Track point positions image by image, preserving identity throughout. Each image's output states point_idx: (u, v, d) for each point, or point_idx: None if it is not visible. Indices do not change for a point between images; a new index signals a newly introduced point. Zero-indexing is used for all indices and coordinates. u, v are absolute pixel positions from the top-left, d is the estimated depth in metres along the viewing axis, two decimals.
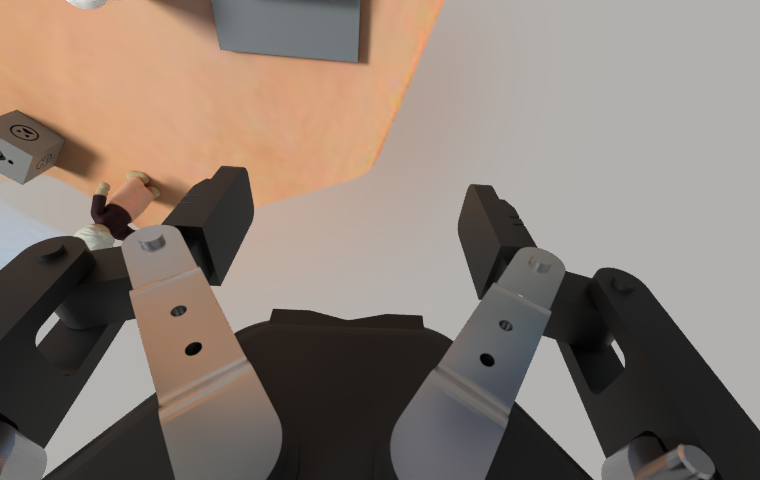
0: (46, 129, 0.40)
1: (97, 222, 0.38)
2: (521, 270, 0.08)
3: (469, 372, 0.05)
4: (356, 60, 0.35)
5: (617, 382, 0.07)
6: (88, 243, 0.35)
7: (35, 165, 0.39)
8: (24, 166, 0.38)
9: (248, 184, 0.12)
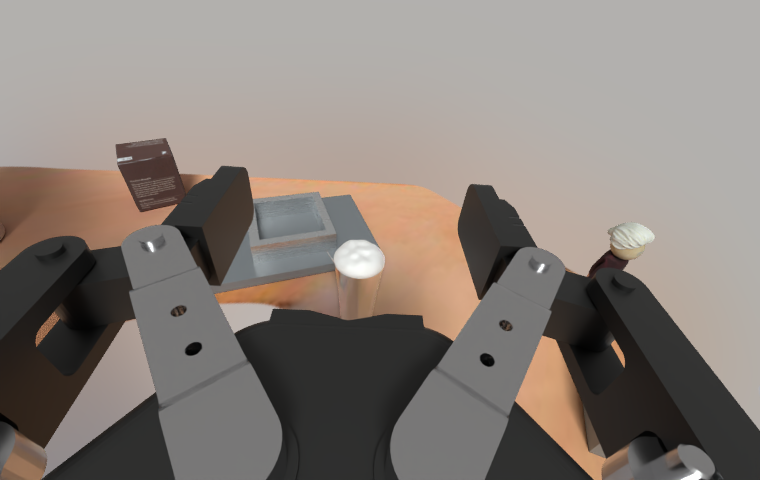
0: (585, 411, 0.29)
1: (616, 260, 0.31)
2: (521, 270, 0.08)
3: (469, 372, 0.05)
4: (349, 195, 0.50)
5: (617, 382, 0.07)
6: (628, 225, 0.30)
7: None
8: None
9: (248, 184, 0.12)
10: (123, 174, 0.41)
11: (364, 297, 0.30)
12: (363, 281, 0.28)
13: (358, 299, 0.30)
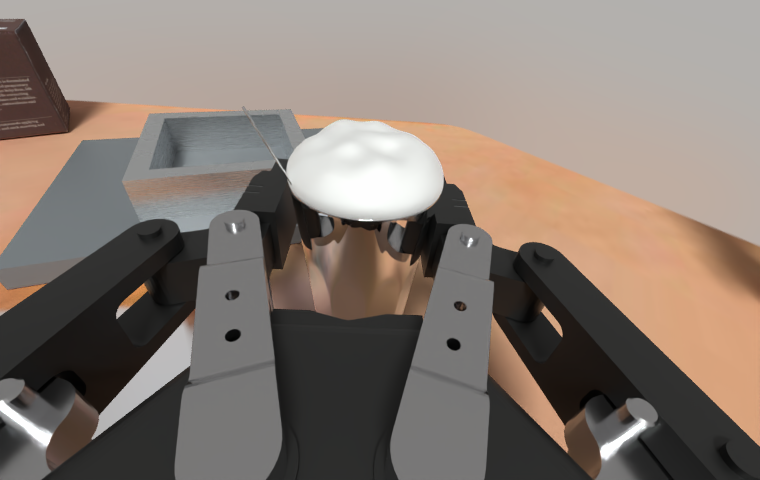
0: None
1: None
2: (456, 248, 0.09)
3: (442, 361, 0.05)
4: None
5: (558, 350, 0.08)
6: None
7: None
8: None
9: None
10: None
11: (382, 287, 0.10)
12: (381, 231, 0.08)
13: (364, 293, 0.10)
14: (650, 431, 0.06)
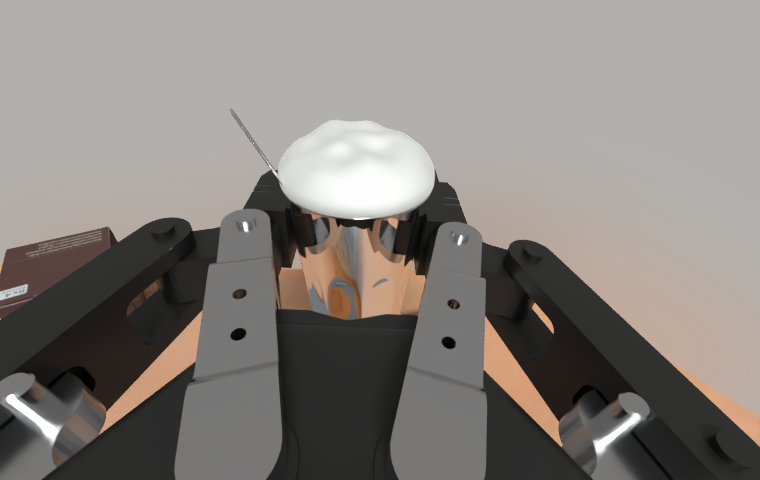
0: None
1: None
2: (447, 246, 0.09)
3: (438, 360, 0.05)
4: None
5: (550, 346, 0.08)
6: None
7: None
8: None
9: None
10: None
11: (376, 286, 0.10)
12: (371, 229, 0.08)
13: (359, 292, 0.10)
14: (642, 425, 0.06)
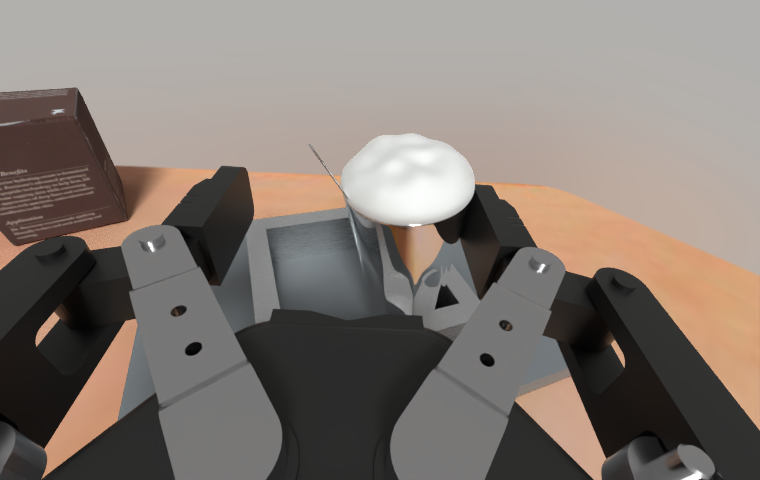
0: None
1: None
2: (521, 270, 0.08)
3: (469, 372, 0.05)
4: None
5: (617, 382, 0.07)
6: None
7: None
8: None
9: (248, 184, 0.12)
10: None
11: (426, 276, 0.12)
12: (425, 232, 0.10)
13: (412, 282, 0.12)
14: None
